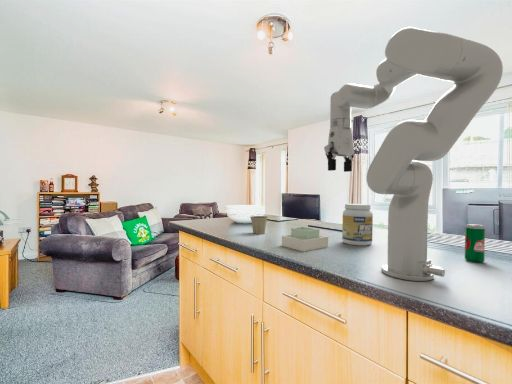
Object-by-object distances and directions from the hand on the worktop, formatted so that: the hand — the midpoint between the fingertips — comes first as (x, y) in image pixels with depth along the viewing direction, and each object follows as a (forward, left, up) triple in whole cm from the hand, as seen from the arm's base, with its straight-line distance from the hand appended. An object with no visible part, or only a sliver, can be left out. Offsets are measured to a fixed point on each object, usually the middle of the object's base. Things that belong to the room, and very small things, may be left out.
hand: (340, 170), depth 101 cm
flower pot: (+48, +2, -31) cm, 57 cm away
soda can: (-35, -24, -31) cm, 52 cm away
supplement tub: (+4, -18, -31) cm, 36 cm away
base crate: (+13, +5, -31) cm, 34 cm away
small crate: (+13, +5, -30) cm, 33 cm away
